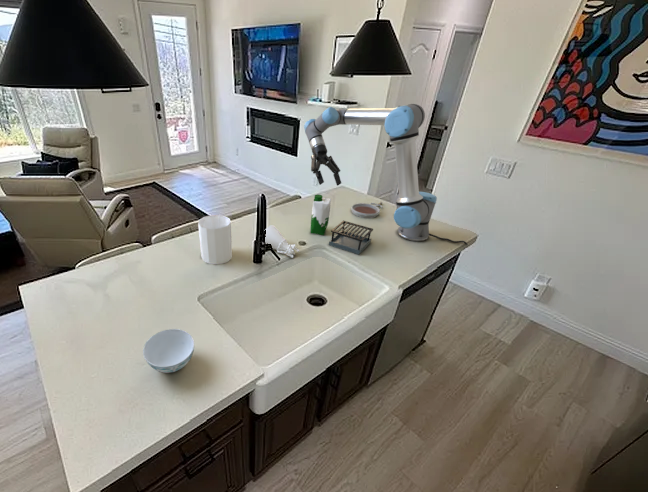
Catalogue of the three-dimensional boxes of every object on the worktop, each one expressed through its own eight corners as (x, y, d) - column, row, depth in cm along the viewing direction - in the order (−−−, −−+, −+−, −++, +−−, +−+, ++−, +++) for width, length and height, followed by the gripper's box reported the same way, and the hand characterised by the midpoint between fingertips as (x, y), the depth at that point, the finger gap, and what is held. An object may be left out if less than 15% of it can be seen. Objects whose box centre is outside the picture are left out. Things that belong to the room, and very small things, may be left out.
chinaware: (141, 384, 96) (136, 366, 92) (154, 345, 108) (150, 328, 104) (192, 384, 96) (189, 366, 92) (199, 345, 109) (197, 328, 104)
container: (233, 262, 151) (232, 227, 141) (202, 265, 148) (199, 230, 138) (229, 247, 163) (228, 213, 153) (200, 249, 160) (197, 216, 150)
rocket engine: (301, 240, 149) (271, 221, 156) (286, 260, 148) (257, 240, 156) (305, 248, 160) (277, 230, 167) (291, 267, 159) (263, 248, 166)
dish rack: (370, 242, 167) (373, 228, 163) (359, 255, 157) (362, 240, 153) (341, 233, 175) (343, 220, 171) (328, 245, 165) (330, 230, 161)
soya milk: (311, 226, 182) (315, 192, 171) (327, 229, 179) (332, 194, 168) (308, 233, 175) (312, 198, 164) (325, 236, 173) (330, 200, 161)
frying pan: (394, 204, 203) (370, 216, 187) (393, 209, 205) (369, 221, 188) (370, 196, 213) (345, 207, 197) (369, 201, 215) (344, 211, 199)
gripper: (329, 154, 184) (341, 188, 180) (296, 149, 170) (308, 186, 166) (339, 146, 178) (351, 181, 174) (306, 141, 164) (319, 179, 160)
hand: (330, 183), depth 170 cm, fingers open, 13 cm apart
